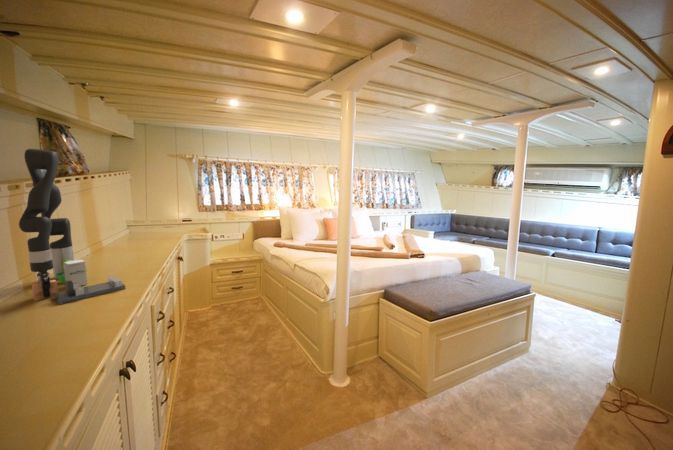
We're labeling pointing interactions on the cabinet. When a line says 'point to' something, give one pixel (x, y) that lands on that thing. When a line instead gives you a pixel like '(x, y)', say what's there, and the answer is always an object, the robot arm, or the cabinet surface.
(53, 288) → the block
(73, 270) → the supplement box
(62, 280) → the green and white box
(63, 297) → the vise
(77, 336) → the cabinet surface
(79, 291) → the sliding jaw
